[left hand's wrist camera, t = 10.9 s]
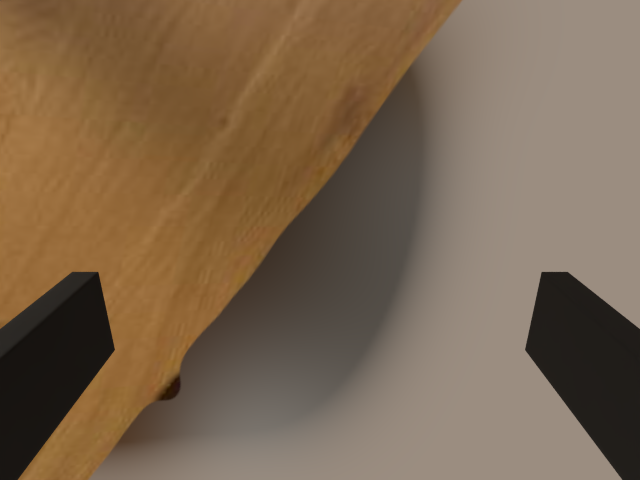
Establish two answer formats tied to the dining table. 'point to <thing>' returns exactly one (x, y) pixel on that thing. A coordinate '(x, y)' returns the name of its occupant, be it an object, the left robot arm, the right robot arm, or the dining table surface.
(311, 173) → the dining table surface
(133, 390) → the dining table surface
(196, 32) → the dining table surface
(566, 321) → the left robot arm
